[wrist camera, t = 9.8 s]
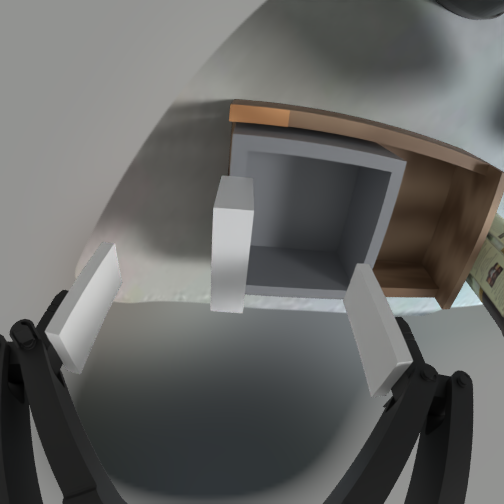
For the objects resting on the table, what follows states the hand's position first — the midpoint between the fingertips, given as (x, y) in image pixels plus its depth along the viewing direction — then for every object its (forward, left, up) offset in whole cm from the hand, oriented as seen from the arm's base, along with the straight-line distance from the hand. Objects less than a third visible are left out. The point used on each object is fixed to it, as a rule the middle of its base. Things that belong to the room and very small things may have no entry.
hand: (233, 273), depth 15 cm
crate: (0, +5, -13) cm, 14 cm away
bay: (0, +11, -14) cm, 18 cm away
